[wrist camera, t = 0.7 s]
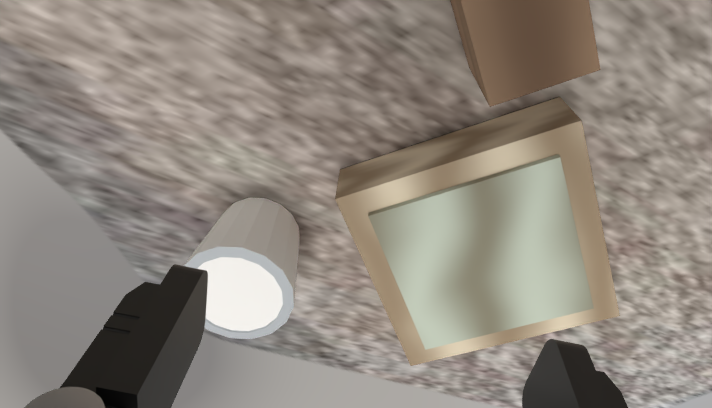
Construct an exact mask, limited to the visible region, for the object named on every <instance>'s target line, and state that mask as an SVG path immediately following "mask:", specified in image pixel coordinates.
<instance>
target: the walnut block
mask: <svg viewBox="0 0 712 408" xmlns="http://www.w3.org/2000/svg"><path fill="white" fill-rule="evenodd" d="M450 1H451V5H452V8H453V12H454V15H455V19H456V22H457V26H458V29H459V33H460V36H461V40H462V43H463V47H464V50H465V54H466V57H467V61H468V64H469V68H470V70H471V72H472V74H473V75H474V77H475V79H476V81H477V83H478V85H479V87H480V89H481V91H482V93H483V95H484V96H485V98H486V100H487V102H488V104H489V106H490V107H491V106H494V105H497V104H500V103H503V102H506V101H509V100H512V99H515V98H518V97H521V96H524V95H527V94H530V93H533V92H536V91H539V90H542V89H545V88H548V87H551V86H554V85H557V84H560V83H563V82H566V81H569V80H572V79H574V78H577V77H580V76H583V75H586V74H589V73H592V72H595V71H598V70H600V65H599V59H598V53H597V47H596V41H595V35H594V29H593V23H592V18H591V12H590V6H589V0H450Z"/></svg>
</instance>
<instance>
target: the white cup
mask: <svg viewBox="0 0 712 408" xmlns="http://www.w3.org/2000/svg"><path fill="white" fill-rule="evenodd" d="M299 242H300V238H299V226H298V224H297V223H296V221H295V219H294V217H293V215H292V214H291V213H290V212H289V211H288V210H287V209H285V208H284V207H283V206H282V205H281V204H279V203H276V202H274V201H271V200H269V199H266V198H246V199H243V200H240V201H237V202H234V203H233V204H232V205H231V206H230V207H229V208H228V209H227V210H226V211H225V212H224V213H223V214H222V216H221V217H220V218H219V220H218V221H217V222H216V224H215V225H214V226H213V228H212V229H211V230H210V231H209V233H208V234H207V235H206V237H205V238H204V239H203V241H202V242H201V243H200V245H199V246H198V247H197V249H196V250H195V251H194V253H193V254H192V255H191V257H190V258H189V259H188V261H187V262H186V263H185V265H184V266H186V267H191V268H196V269H201V270H206V271H207V272H208V285H207V302H206V319H205V326H204V327H205V328H206V329H208V330H209V331H211V332H214V333H217V334H220V335H223V336H226V337H229V338H240V339H254V338H257V337H261V336H265V335H268V334H272V333H273V332H274V331H275V330H277V329H278V328H279V327H281V326H282V325H283V324H285V323H286V322H287V320H288V317H289V315H290V313H291V311H292V309H293V307H294V298H295V287H296V276H297V265H298V254H299Z"/></svg>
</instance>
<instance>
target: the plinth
mask: <svg viewBox="0 0 712 408" xmlns="http://www.w3.org/2000/svg"><path fill="white" fill-rule="evenodd" d="M335 200H336V202H337V204H338V206H339V209H340V211H341V213H342V215H343V217H344V220H345V222H346V224H347V226H348V228H349V231H350V233H351V235H352V237H353V240H354V242H355V244H356V246H357V248H358V251H359V253H360V255H361V257H362V259H363V262H364V264H365V266H366V268H367V270H368V273H369V275H370V277H371V279H372V281H373V284H374V286H375V288H376V290H377V292H378V295H379V297H380V299H381V301H382V303H383V306H384V308H385V310H386V312H387V314H388V317H389V319H390V321H391V323H392V325H393V328H394V330H395V332H396V334H397V336H398V339H399V341H400V343H401V345H402V347H403V350H404V352H405V354H406V356H407V358H408V361H409V363H410V365H411V366H413V365H417V364H421V363H425V362H429V361H433V360H438V359H442V358H446V357H450V356H454V355H458V354H463V353H467V352H471V351H475V350H479V349H483V348H488V347H492V346H496V345H500V344H504V343H509V342H513V341H517V340H521V339H525V338H529V337H534V336H538V335H542V334H546V333H550V332H554V331H559V330H563V329H567V328H571V327H575V326H579V325H584V324H588V323H592V322H596V321H600V320H605V319H609V318H613V317H617V316H620V315H619V310H618V305H617V299H616V294H615V289H614V284H613V279H612V274H611V269H610V264H609V258H608V253H607V248H606V243H605V238H604V233H603V228H602V223H601V217H600V212H599V207H598V202H597V197H596V192H595V187H594V182H593V176H592V171H591V166H590V161H589V156H588V151H587V146H586V141H585V135H584V130H583V125H582V120H581V119H580V118H579V117H578V116H577V115H576V114H575V113H574V112H573V111H572V110H571V108H570V107H569V106H568V105H567V104H566V103H565V102H564V101H563V100H562V99H561V98H560V97H558V98H555V99H552V100H549V101H546V102H543V103H540V104H537V105H534V106H531V107H528V108H525V109H522V110H519V111H516V112H513V113H510V114H507V115H504V116H501V117H498V118H495V119H492V120H489V121H485V122H482V123H479V124H476V125H473V126H470V127H467V128H464V129H461V130H458V131H455V132H452V133H449V134H446V135H443V136H440V137H437V138H434V139H431V140H428V141H425V142H422V143H419V144H416V145H413V146H410V147H407V148H404V149H401V150H398V151H395V152H392V153H389V154H386V155H383V156H380V157H377V158H374V159H371V160H368V161H365V162H362V163H359V164H356V165H353V166H350V167H347V168H344V169H341V170H340V174H339V180H338V185H337V191H336V197H335Z"/></svg>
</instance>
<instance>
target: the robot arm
mask: <svg viewBox="0 0 712 408" xmlns="http://www.w3.org/2000/svg"><path fill="white" fill-rule="evenodd" d="M207 285H208V272H207V271H206V270H201V269H196V268H191V267H186V266H181V265H176V264H175V265H173V266H172V267H171V269H170V270H169V272H168V273H167V275H166V276H165V278H164V280H163V281H162V283H161V284H160V285H159V284H153V283H148V282H144V283H143V284H141V285H140V286H138V287H137V288H135V289H134V290H132V291H131V292H129V293H128V294H126V295H125V297H124V298H123V299H122V301H121V302H120V304H119V305H118V307H117V308H116V310H115V311H114V314H113V316H111V317H110V318H109V319H108V321H107V322H106V324H105V325H104V328H103V330H101V331H100V332H99V334H98V335H97V336H96V338H95V339H94V341H93V342H92V343H91V345H90V346H89V348H88V349H87V351H86V352H85V353H84V355H83V356H82V358H81V359H80V361H79V362H78V363H77V365H76V366H75V368H74V369H73V370H72V372H71V373H70V375H69V376H68V378H67V379H66V380H65V382H64V383H63V384H62V386H61V387H60V388H58V389H54V390H52V391H49V392H46V393H44V394H42V395H40V396H38V397H37V398H35V399H34V400H32V401H31V402H30V403H29V404H27V405H26V406H25V407H24V408H171V406H172V404H173V402H174V399H175V397H176V395H177V393H178V391H179V389H180V386H181V384H182V382H183V380H184V378H185V375H186V373H187V371H188V369H189V367H190V365H191V362H192V360H193V358H194V356H195V354H196V351H197V349H198V347H199V344H200V342H201V339H202V335H203V331H204V326H205V319H206V302H207ZM522 406H523V408H628V407H627V404H626V402H625V400H624V398H623V395H622V393H621V391H620V390H619V389H618V388H617V387H616V386H615V384H614V383H613V382H612V381H611V380H610V379H609V377H608V376H607V375H606V374H605V373H604V372H600V371H596V370H595V367H594V365H593V363H592V360H591V358H590V355H589V353H588V351H587V349H586V348H585V347H584V346H583V345H579V344H574V343H569V342H564V341H559V340H554V339H550V340H548V341H547V342H546V343H545V345H544V347H543V349H542V351H541V353H540V355H539V357H538V359H537V361H536V363H535V365H534V367H533V369H532V371H531V373H530V375H529V377H528V379H527V381H526V383H525V386H524V390H523V398H522Z"/></svg>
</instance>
